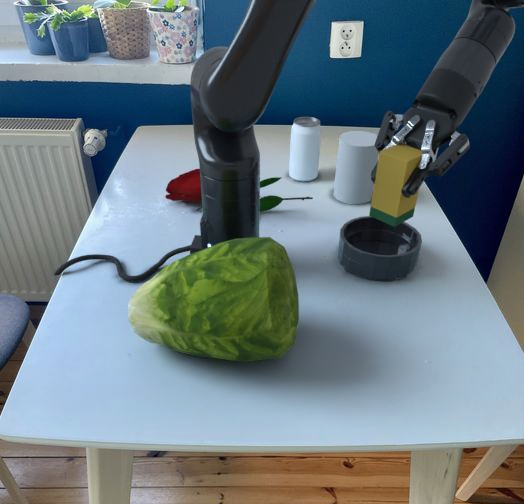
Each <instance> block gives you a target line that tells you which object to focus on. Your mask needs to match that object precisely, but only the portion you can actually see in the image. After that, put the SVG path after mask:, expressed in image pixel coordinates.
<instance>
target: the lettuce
mask: <svg viewBox="0 0 524 504" xmlns="http://www.w3.org/2000/svg"><path fill="white" fill-rule="evenodd" d="M295 273H296V272H295V268H294V266H293V263H292V260H291V259H290V257H289V254H288V252H287V249H286V247H285V246H284V245H282V244H281V243H279V242H278V241H277V240H275V239H273V238H272V237H271V236H259V237H251V238H240V239H233V240H229V241H225V242H222V243H218V244H215V245H213V246H211V247H208V248H206V249H203V250H200V251H198V252H195V253H192V254H190V253H189V254H187V255H185V256H183V257H181V258H179V259H177V260H174V261H173V262H171V263H169V264H167V265H166V266H164V267H163V268H162V269H161V270H160V271H158V272H157V273H156V274H155V275H154V276H153V277H152V278H150V279H149V280H147V281H146V282H144V283H142V284H141V285H140V286H139V287H138V288H137V289H136V290H135V292H134V293H133V294H132V296H131V298H130V299H129V301H128V305H127V316H128V323H129V326H130V328H131V330H132V331H133V332H134V333H135V334H136V335H137V336H139V337H140V338H141V339H143V340H144V341H147V342H148V343H152V344H155V345H159V346H163V347H166V348H168V349H171V350H173V351H176V352H180V353H182V354H187V355H191V356H192V355H193V356H197V357H201V358H214V359H221V360H226V361H233V362H234V361H235V362H254V361H264V360H271V359H278V358H282V357H284V355H285V354H286V353H287V352H288V351H289V350H290V349H291V348H293V346H294V344H295V342H296V336H297V332H298V327H299V323H300V307H299V305H300V304H299V302H300V301H299V300H300V299H299V291H298V284H297V278H296V274H295Z"/></svg>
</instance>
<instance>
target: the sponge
mask: <svg viewBox="0 0 524 504" xmlns="http://www.w3.org/2000/svg"><path fill="white" fill-rule="evenodd" d="M421 157H422V154H421V150H419V149H415V148H412V147H409V146H407V145H404V144H402V145H394V146H391V147H389V148H387V149H384V150H382V151H380V153H379V156H378V165H377V171H376V179H375V183H374V187H373V194H372V199H371V201H370V207H369V208H370V209H369V214H368V216H371V217H374V218H376V219H378V220H380V221H382V222H385V223H387V224H389V225H391V226H394V227H395V226H397V225H399V224H401V223H403V222H406V221H408V220H410V219H412V218H413V217H414V214H415V211H416V210H415V209H416V205H417V201H418V197H419V196H418V195H419V192H420V188H419V189H418V191H417V193H416V194H414V195H411V196H410V198H407V197H404V196H403V194H402V193H401V190H402V188H403V186H404V185H405V183H406V181H407V180H408V178H409V177H410V175H411V173H412V172H413V170H414V169H415V168H418V164H419V160H420V158H421Z"/></svg>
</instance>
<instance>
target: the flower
mask: <svg viewBox="0 0 524 504" xmlns="http://www.w3.org/2000/svg"><path fill="white" fill-rule="evenodd" d="M282 178H283V177H281V176H280V177H279V176H278V177H276V176H275V177H268V178H265V179H262V180H260V189H261V188H265V187H268V186H270V185H272V184H275V183H276V182H278V181H280V180H281V179H282ZM165 192H166V193H168V194H165V195H164V198H165V199H167V200H168V201H169V200H170V201H172V202H178V201H181V202H188V203H190V202H191V203H199V205H200V207H199V208H197V209H195V212H197V211H200V210H201V209H202V195H201V180H200V168H195V169H192V170H189V171H187V172H184V173H181V174H179V175H178V176H177V177H175V178H172V179H171V180H170V181H169V182H167V185H166V188H165ZM313 199H314V197H311V196H304V197H284V198H283V197H281V196H278V195H264V196H262V197H261V196H260V213H263V212H267V211H270V210H272V209H275V208H276V207H278V206H279V205H280V204H281V203H282V202H283V201H292V200H294V201H295V200H301V201H305V200H313Z"/></svg>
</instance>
